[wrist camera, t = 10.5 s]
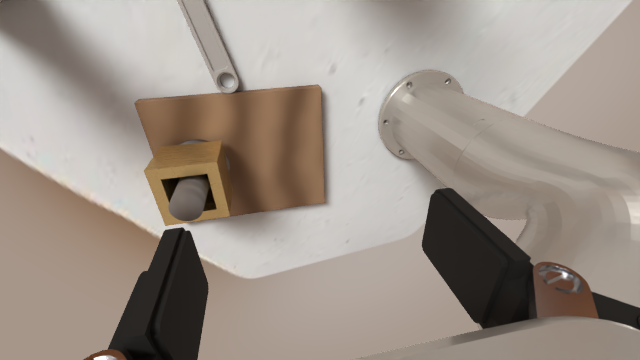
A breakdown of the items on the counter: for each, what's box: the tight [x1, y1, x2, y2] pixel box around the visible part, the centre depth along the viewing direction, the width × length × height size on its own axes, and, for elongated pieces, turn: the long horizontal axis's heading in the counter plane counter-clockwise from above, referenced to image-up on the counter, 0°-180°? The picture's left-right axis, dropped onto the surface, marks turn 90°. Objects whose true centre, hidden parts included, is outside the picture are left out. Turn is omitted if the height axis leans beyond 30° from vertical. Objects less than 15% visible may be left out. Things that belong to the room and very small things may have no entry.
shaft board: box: [135, 85, 325, 221], centre depth 34 cm, size 21×17×11 cm
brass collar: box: [144, 140, 233, 226], centre depth 34 cm, size 7×7×6 cm
